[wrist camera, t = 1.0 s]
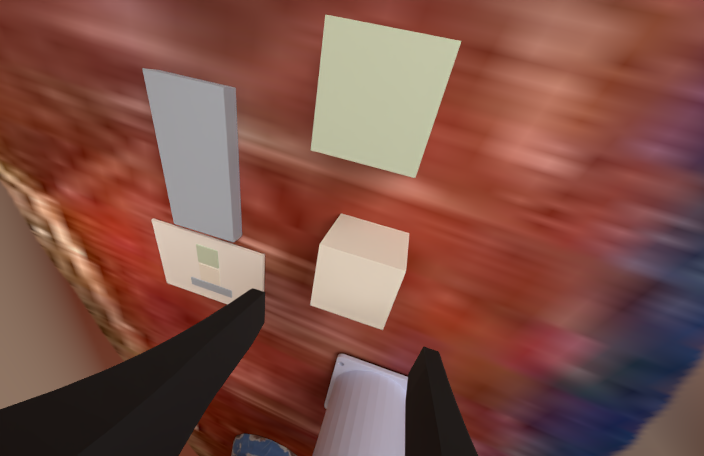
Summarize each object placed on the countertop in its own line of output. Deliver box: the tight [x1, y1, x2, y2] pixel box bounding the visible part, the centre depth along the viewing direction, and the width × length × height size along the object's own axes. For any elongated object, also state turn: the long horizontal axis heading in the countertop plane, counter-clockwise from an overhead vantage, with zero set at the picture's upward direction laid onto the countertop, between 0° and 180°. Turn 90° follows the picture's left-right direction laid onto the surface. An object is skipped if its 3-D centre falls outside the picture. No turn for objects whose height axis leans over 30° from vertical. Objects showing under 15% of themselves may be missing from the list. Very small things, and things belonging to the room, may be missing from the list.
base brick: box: [142, 68, 242, 242], centre depth 16 cm, size 10×5×2 cm, turn 169°
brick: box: [310, 214, 409, 330], centre depth 15 cm, size 4×4×4 cm
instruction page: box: [151, 219, 265, 304], centre depth 21 cm, size 7×10×1 cm
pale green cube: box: [311, 15, 461, 178], centre depth 11 cm, size 4×4×4 cm
